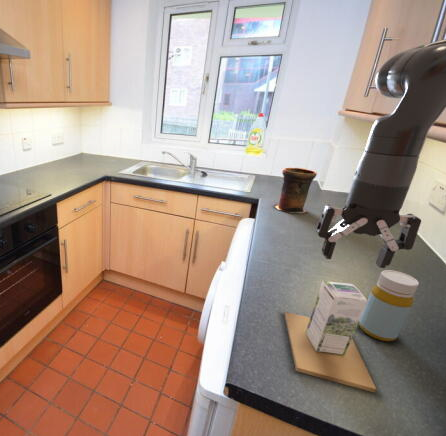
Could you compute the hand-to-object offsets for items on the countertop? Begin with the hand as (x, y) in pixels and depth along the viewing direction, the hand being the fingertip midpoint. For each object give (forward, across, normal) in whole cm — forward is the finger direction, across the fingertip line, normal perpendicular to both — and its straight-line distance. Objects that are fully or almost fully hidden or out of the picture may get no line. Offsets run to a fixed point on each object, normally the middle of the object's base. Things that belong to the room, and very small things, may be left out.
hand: (352, 261), depth 57 cm
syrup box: (+21, 0, 0) cm, 21 cm away
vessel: (+22, +7, +101) cm, 104 cm away
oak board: (+22, 0, 0) cm, 22 cm away
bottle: (+22, +13, +11) cm, 28 cm away
